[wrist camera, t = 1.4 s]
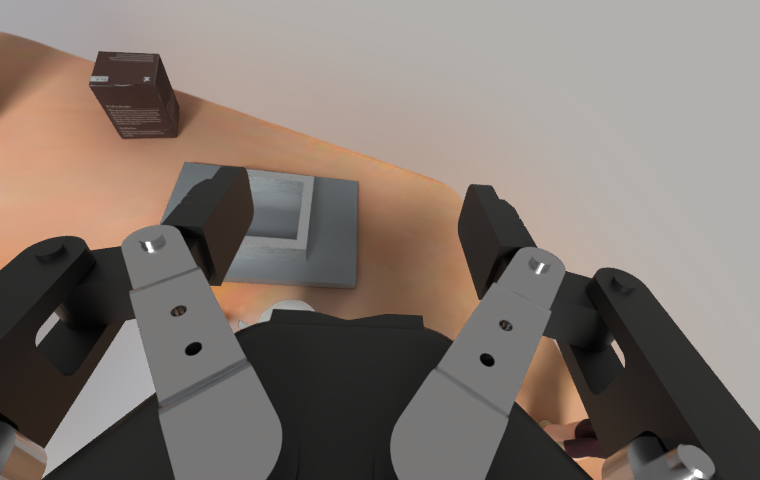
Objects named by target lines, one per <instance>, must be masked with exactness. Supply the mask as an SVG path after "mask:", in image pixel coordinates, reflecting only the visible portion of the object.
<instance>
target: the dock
mask: <svg viewBox="0 0 760 480" xmlns="http://www.w3.org/2000/svg"><path fill="white" fill-rule="evenodd" d="M220 167H221V166H216V165H207V164H199V163H190V162H184V165H183V167H182V170H181V172H180V175H179V178H178V180H177V183H176V185H175V188H174V190H173V193H172V195H171V198H170V200H169V203H168V205H167V208H166V210H165V213H164V215H163V218H162V220H161V223H160V225H161V224H162V223H163V222H164V220H165V219H166V218H167V217H168V216H169V214H170V213H171V212H172V211H173V210H174V209H175V207H176V206H177V205H178V204H179V203H181V202H180V201H181V200H182V199H183V198H184V197H185V196H187V195H186V194H187V193H188V192H189V191H190V190H191V188H192V187H193V186H194V185H196V184H198V183H200V182H201V181H203V180H205V179H211V178H212V177H213V176H214V175H215V173H216V172H217V171H218V170H219V168H220ZM246 170H247V172H248V177H249V182H250V188H251V193H252V199H253V204H254V216H253V221H252V223H251V225H250V227H249V229H248V231H247V233H246V235H245V237H244V239H243V241H242V243H241V245H240V248H239V250H238V252H237V254H236V256H235V258H234V260H233V262H232V264H231V266H230V268H229V270H228V272H227V274H226V276H225V278H224V280H223V282H239V283H256V284H274V285H292V286H310V287H327V288H345V289H355V286H356V258H357V202H358V181H350V180H341V179H332V178H323V177H314V176H306V175H297V174H288V173H279V172H270V171H261V170H252V169H246Z"/></svg>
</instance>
